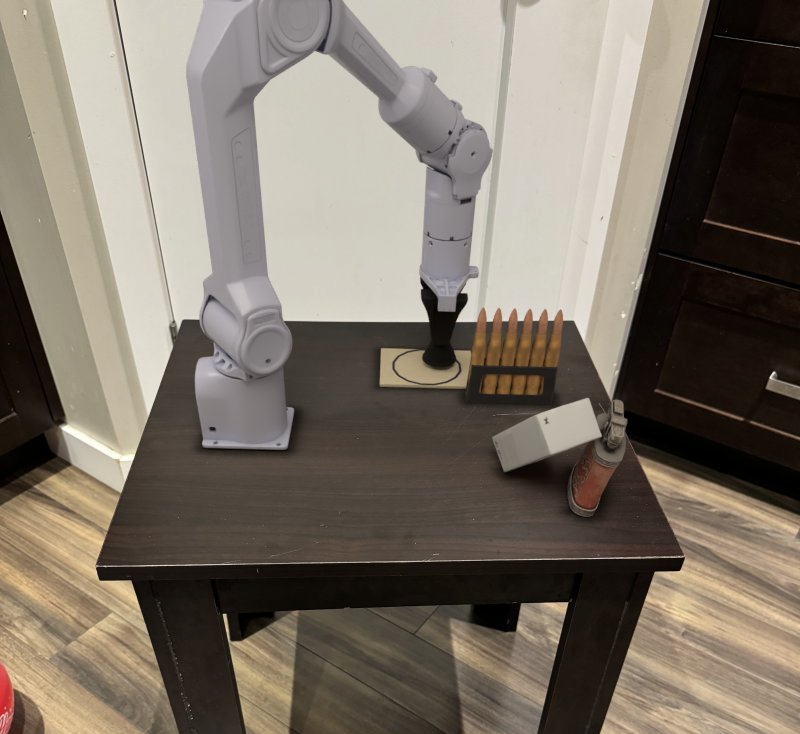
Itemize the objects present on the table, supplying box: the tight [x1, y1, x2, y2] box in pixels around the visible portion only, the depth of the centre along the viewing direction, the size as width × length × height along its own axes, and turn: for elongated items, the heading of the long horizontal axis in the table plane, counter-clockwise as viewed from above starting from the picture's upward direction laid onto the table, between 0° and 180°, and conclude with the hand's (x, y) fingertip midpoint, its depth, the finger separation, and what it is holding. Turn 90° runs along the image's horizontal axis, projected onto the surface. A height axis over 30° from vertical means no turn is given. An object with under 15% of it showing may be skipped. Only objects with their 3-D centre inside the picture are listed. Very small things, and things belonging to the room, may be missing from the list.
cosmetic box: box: [491, 397, 602, 473], centre depth 79 cm, size 6×4×12 cm
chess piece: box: [422, 340, 456, 367], centre depth 96 cm, size 4×4×10 cm
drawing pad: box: [379, 347, 472, 390], centre depth 99 cm, size 12×9×1 cm
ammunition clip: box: [464, 307, 564, 405], centre depth 91 cm, size 11×2×12 cm, turn 91°
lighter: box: [567, 399, 628, 518], centre depth 78 cm, size 8×3×10 cm, turn 168°
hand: (439, 338), depth 98 cm, fingers closed on chess piece, 2 cm apart
